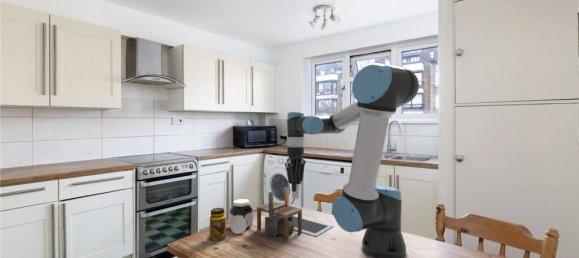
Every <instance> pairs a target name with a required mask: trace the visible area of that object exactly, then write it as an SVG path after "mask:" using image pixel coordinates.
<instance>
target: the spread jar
mask: <svg viewBox="0 0 579 258" xmlns="http://www.w3.org/2000/svg"><path fill="white" fill-rule="evenodd" d="M228 215H229V218H228V219H229V220H228V221H229V224H230V230H231V231H232V232H233V233H234V234H237V235H238V234H242V233H244V232H245V231H246V230H247V229H249V228H250V227H251V226H252V225H253V223H254V209H253V207H252V206H251V204H250V200H249V199H246V198H240V199H239V198H238V199H235V200H233V205H232V206H231V208H230V209H229V213H228Z"/></svg>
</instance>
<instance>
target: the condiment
mask: <svg viewBox="0 0 579 258" xmlns="http://www.w3.org/2000/svg"><path fill="white" fill-rule="evenodd" d="M225 214H226V213H225V209H224V208H223V207H215V208H212V209H211V210H210V216H209V234H208V235H207V236H206V237H205V238H204V239H203V240H202V241H201V243H210V244H223V243H224V242H226V240H227V239H228V238H229V236H230V235H229V234H228V235H227V234H226V229H227V228H226V227H227V226H226V225H227V223H226V215H225Z"/></svg>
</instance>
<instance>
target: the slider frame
mask: <svg viewBox="0 0 579 258" xmlns="http://www.w3.org/2000/svg"><path fill="white" fill-rule="evenodd" d="M273 202H274V192H272V191H269V192H268V203H269V213H268V216H265V217H264V232H265V234H269V235H271V236H275V237H276V236H278V233H277V220H279V219H284V218H283V217H280V216H276V215H275V216H273ZM284 205H285V207H287V206H290V187H287V186H286V187H284ZM288 221H292V222H293V216H291V217H289V218H288Z"/></svg>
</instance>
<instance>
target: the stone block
mask: <svg viewBox="0 0 579 258" xmlns="http://www.w3.org/2000/svg"><path fill="white" fill-rule="evenodd" d="M294 232H295V230H294V224H293V222H292V221H288V236H289V235H293V233H294ZM277 235H282V236H284V219H279V220H277Z"/></svg>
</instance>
